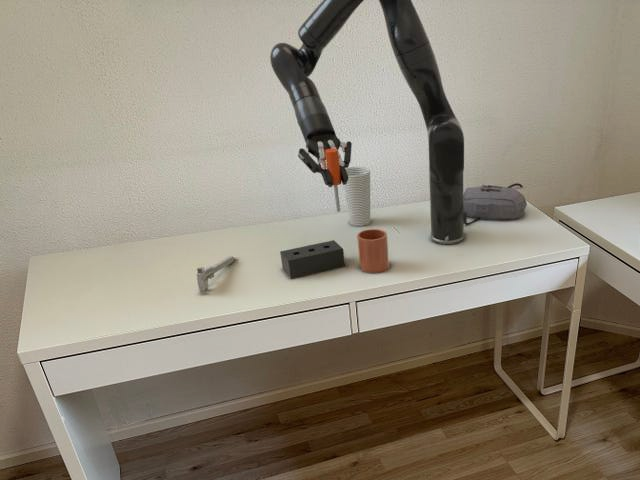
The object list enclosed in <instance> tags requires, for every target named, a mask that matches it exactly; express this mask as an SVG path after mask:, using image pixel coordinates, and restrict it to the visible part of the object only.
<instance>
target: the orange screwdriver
mask: <svg viewBox="0 0 640 480" xmlns="http://www.w3.org/2000/svg"><path fill="white" fill-rule="evenodd" d="M338 152H339V150H337V149H327V150H325V156H326V160H325V161H326V167H327V168H326V169H328V170H329V173H330V176H331V178H332V181H333V193H334V199H335V200H334V201H335V209H336V213H337V212H338V213H340V212H341V204H340V196H339V187H338V186H339V185H342V181H341V174H340V165H339V156H338Z"/></svg>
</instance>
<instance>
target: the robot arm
mask: <svg viewBox="0 0 640 480" xmlns="http://www.w3.org/2000/svg"><path fill="white" fill-rule="evenodd" d="M364 1H365V0H321V2H320V3H319V4H318V5H317V6H316V8H314V10H313V11H312V12H311V13H310V15H309V16H308V17H307V18H306V19H305V20H304V21H303V23H302V24H301V25H300V27H299V29H298V32H297V35H298V37H299V40H300V41H301V42H302V43H301V46H300V47H299V48H297V47H295V46H294V45H292V44H289V43H287V42H278V43H276V44H275V45H274V46H273V47H272V49H271V51H270V56H269V57H270V58H269V60H270V61H269V62H270V66H271V68H272V71H273V72H274V74H275V76H276V77H277V79H278V81H279V82H280V84H281V85H282V87H283V88H284V90H285V91H286V92H287V94H288V97H289V100H290V102H291V105H292V107H293V110H294V111H293V112H294V114H295V118H296V121H297V125H298V127H299V129H300V132H301V134H302V137H303V139H304V142H305V147H304V148H299V150H298V153H297V157H298V158H299V160H300V161H301V162H302V163H303V164H304V165H305V166H306V167H307V168H308V169H309V170H310V171H311V172H312V173H313V174H316V173H319V174H320V175H321V178H322V179H323V183H324V184H325V185H326V186H328V188H332V187H334V185H333V181H332V178H331V176H330V173H329V170H328V169H327V164H326V156H325V150H327V149H337V150H338V156H339V165H340V174H341V185H342V186H343V185H345V184H346V183H347V181H348V174H347V172H346V168H350V167H349V166H350V163H351V159H352V147H353V144H352V142H351V141H346V142H343V141H341V140H340V139H339V138H338V136H337V134H336V132H335V129H334V126H333V123H332V120H331V118H330V116H329V112H328V111H327V108H326V105H325V104H324V102H323V100H322V97H321V95H320V92H319V90H318V88H317V86H316V84H315V82H314V81H313V80H312V79H311V78H310V76H311V75H312V74H313V72H314V71H315V69H316V67H317V64H318V63H319V60H320V58H321V56H322V54H323V51H324V50H325V48H326V47H327V46H328V45H329V44H330V43H331V42H332V41H333V40H334V38H335V37H336V36H337V35H338V33H339V32H340V31H341V30H342V29H343V27H344V26H345V24H347V22H348V20H349V19H350V17H351V16H352V15H353V14H354V12H355V11H356V10H357V9H358V7H360V5H361V4H362V3H363V2H364ZM378 2H379V4H380V7H381V9H382V13H383V18H384V21H385V26H386V31H387V35H388V39H389V42H390V47H391V49H392V52H393V55H394V58H395V59H396V63H397V65H398V68H399V70H400V72H401V74H402V76H403V79H404V80H405V82H406V83H407V86H408V88H409V89H410V91H411V92H412V94H413V96H414V98H415V100H416V101H417V103H418V105H419V108H420V112H421V115H422V118H423V120H424V124H425V128H426V134H427V140H428V141H427V143H428V173H429V174H428V176H429V177H428V178H429V179H428V180H429V206H430V208H429V210H430V239H431V241H432V242H434V243H436V244H440V245H455V244H458V243H461V242H462V241H463V240H464V239H465V228H464V227H465V226H470V225H471V224H474V223H476V222H477V221H479V220H481V219H480V217H478V218H475V219H473V220H472V221H470V222H468V216H467V212H464V204H463V195H464V173H465V172H464V171H465V136H464V131H463V128H462V125H461V123H460V122H459V119H458V118H457V116H456V115H455V112H454V110H453V109H452V106H451V104H450V102H449V100H448V98H447V95H446V92H445V89H444V86H443V81H442V76H441V72H440V68H439V66H438V62H437V59H436V55H435V53H434V50H433V47H432V45H431V42H430V39H429V36H428V35H427V32H426V29H425V27H424V25H423V23H422V20H421V18H420V16H419V14H418V11H417V10H416V7H415V5H414V3H413V1H412V0H378ZM340 148H341V151H342V153H344V154H343V159H342V156H341V153H340V152H339V150H340ZM310 155H312V156H313V157H315V158H316V161H315V159H314V158H312V156H310ZM517 186H519V187H520V188H523V187H524V186H523V185H522V184H521V183H518V182H517V183H513V184H510V185H508V186H506V187H507V188H511V189H512V188H513V187H517Z"/></svg>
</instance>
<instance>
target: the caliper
mask: <svg viewBox="0 0 640 480" xmlns="http://www.w3.org/2000/svg"><path fill="white" fill-rule="evenodd" d="M235 260H236V257H235V256H232V255H230V256H228V257H226V258H224V259H222V260H220V261H219V262H217V263H215V264H214V265H212V266H211V265H209V266H206V267H204V266H199V267H198V268H196V271H197V272H196V282H197V286H198V291H199V293H201V294H205V293H206V292H209V279H210V280H212V279H213V278H214V277H215V274H216V273H217V272H219V271H221V270H223V269H224V268H226V267H228V266H229V265H231V264H232V263H234V262H235Z"/></svg>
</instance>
